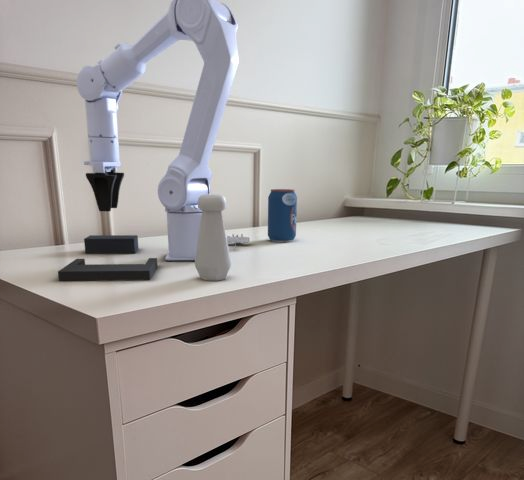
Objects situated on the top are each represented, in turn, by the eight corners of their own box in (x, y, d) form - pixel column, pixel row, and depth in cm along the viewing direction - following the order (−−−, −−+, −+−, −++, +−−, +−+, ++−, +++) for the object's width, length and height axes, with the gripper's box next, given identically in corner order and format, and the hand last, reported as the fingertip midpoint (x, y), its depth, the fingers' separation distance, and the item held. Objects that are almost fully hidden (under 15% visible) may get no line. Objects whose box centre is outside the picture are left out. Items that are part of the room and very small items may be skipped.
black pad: (157, 266, 93) (156, 258, 92) (150, 280, 82) (149, 270, 81) (77, 267, 92) (76, 258, 91) (58, 281, 80) (57, 271, 80)
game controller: (246, 242, 123) (246, 231, 122) (259, 250, 113) (259, 238, 112) (223, 243, 122) (222, 232, 121) (233, 251, 111) (233, 238, 110)
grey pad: (138, 249, 112) (137, 235, 111) (135, 253, 107) (134, 238, 106) (91, 249, 111) (89, 235, 110) (85, 253, 106) (83, 238, 105)
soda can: (298, 242, 125) (299, 190, 121) (269, 242, 124) (270, 190, 120) (292, 238, 131) (294, 189, 127) (265, 238, 130) (266, 189, 126)
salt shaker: (188, 279, 82) (185, 194, 78) (205, 273, 87) (203, 193, 83) (222, 283, 80) (220, 195, 76) (237, 276, 85) (236, 194, 81)
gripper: (90, 138, 108) (95, 206, 112) (73, 135, 94) (80, 212, 99) (124, 140, 108) (128, 206, 113) (112, 136, 95) (117, 213, 99)
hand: (108, 209), depth 106 cm, fingers open, 7 cm apart
